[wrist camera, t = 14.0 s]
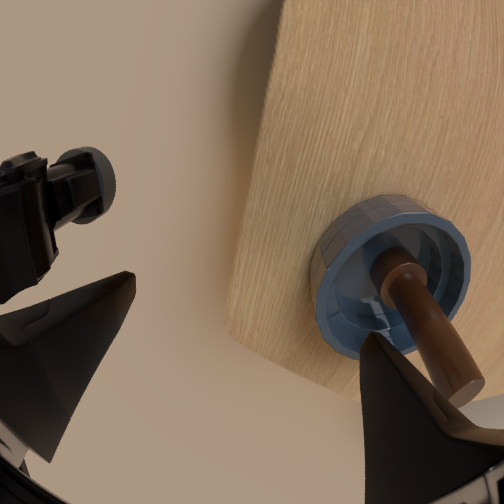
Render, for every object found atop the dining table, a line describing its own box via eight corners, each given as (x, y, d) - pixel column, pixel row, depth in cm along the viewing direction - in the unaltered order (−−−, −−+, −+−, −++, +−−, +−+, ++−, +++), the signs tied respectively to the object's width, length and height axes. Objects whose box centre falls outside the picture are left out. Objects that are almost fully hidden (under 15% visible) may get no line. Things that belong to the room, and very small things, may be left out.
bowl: (308, 331, 26) (312, 368, 22) (307, 195, 20) (316, 215, 16) (427, 317, 24) (445, 348, 20) (452, 194, 19) (485, 212, 14)
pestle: (366, 290, 23) (417, 426, 10) (374, 246, 21) (454, 378, 8) (407, 289, 22) (471, 409, 10) (418, 247, 21) (508, 360, 8)
